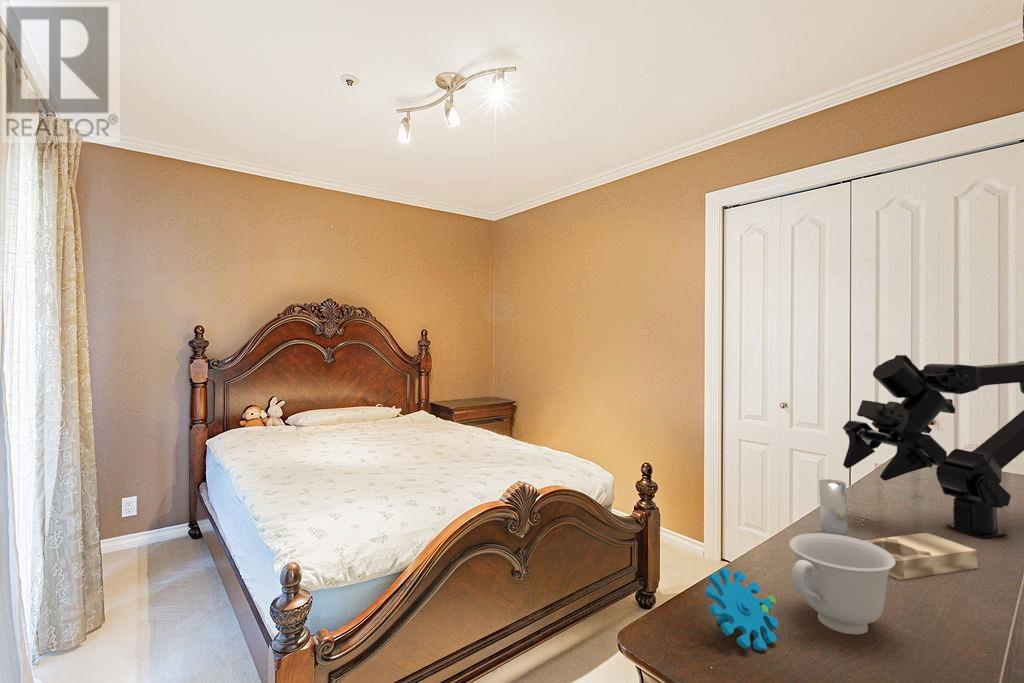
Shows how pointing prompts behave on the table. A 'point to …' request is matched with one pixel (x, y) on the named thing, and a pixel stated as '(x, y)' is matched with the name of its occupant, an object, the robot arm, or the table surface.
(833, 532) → the translucent cylinder
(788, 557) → the table surface
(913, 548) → the jig
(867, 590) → the teacup
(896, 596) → the table surface
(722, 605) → the gear
